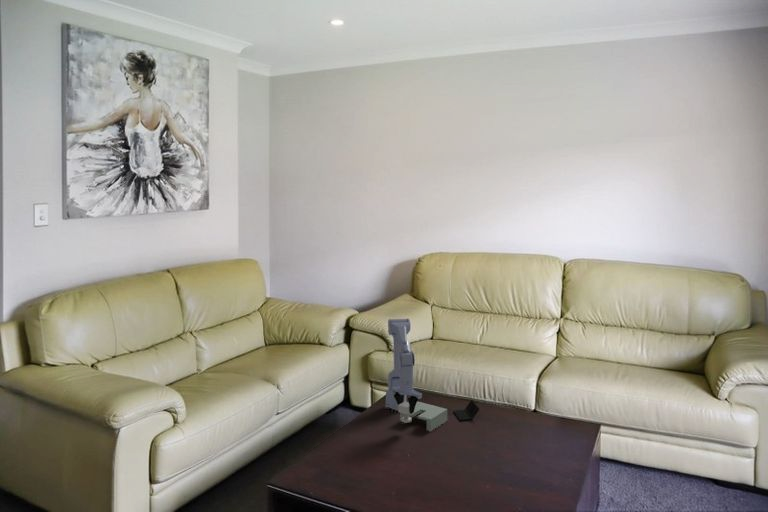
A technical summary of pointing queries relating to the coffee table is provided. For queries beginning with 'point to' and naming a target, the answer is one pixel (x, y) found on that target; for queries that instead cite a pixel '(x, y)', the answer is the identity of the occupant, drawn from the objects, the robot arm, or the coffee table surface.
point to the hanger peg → (405, 412)
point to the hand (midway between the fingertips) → (406, 411)
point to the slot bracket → (429, 414)
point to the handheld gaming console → (467, 412)
